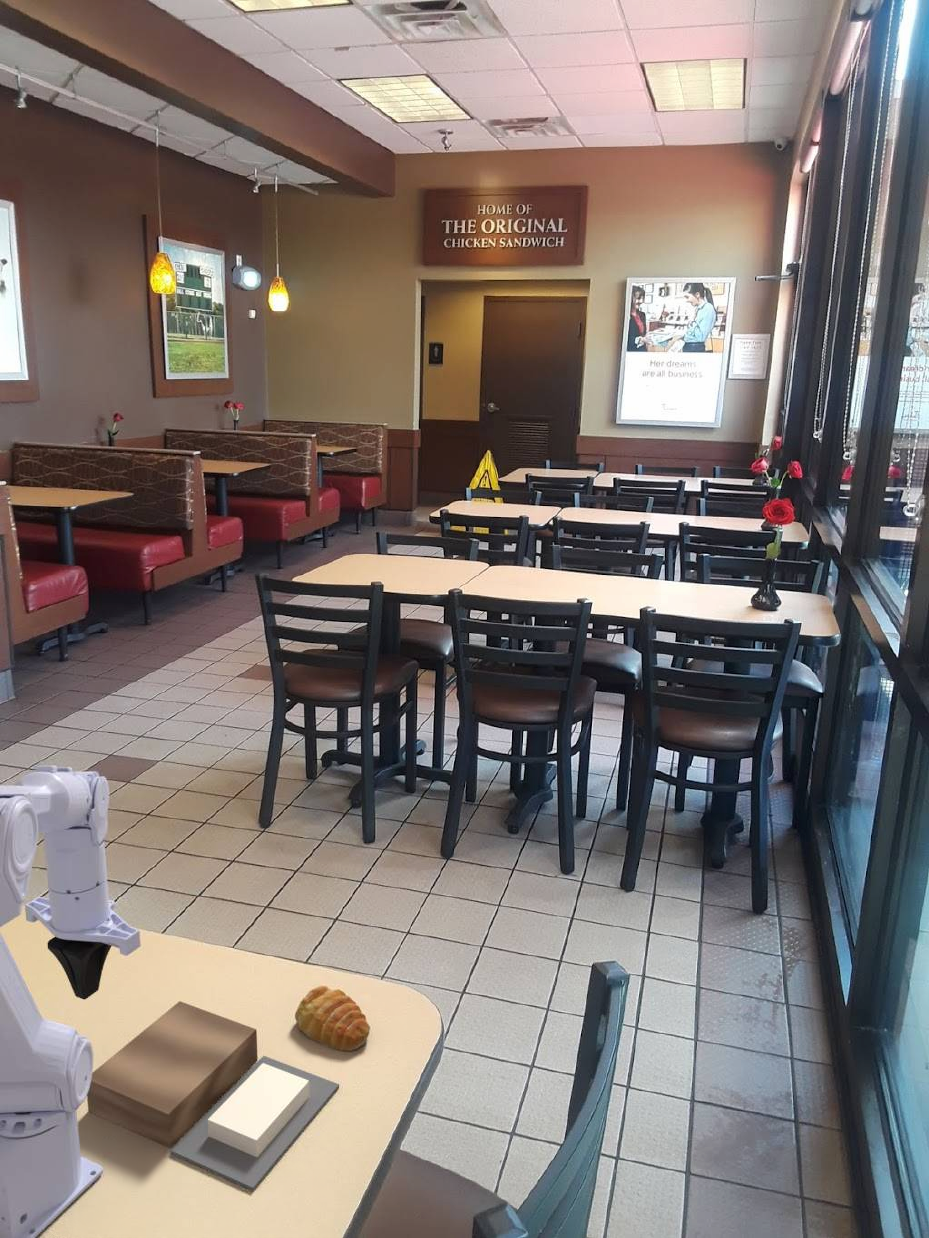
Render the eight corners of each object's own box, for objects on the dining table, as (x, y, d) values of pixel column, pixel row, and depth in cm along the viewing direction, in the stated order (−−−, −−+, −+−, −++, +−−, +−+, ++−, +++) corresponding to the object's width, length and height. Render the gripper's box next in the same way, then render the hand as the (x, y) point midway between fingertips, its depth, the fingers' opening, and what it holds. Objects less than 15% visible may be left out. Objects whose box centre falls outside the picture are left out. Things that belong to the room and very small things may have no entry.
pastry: (384, 1035, 109) (384, 1007, 108) (341, 1065, 104) (340, 1036, 103) (331, 1001, 115) (330, 974, 114) (288, 1028, 110) (287, 1000, 109)
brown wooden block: (170, 1148, 92) (168, 1114, 91) (88, 1111, 96) (85, 1078, 95) (257, 1059, 104) (256, 1029, 103) (181, 1030, 109) (179, 1000, 108)
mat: (253, 1191, 87) (253, 1187, 87) (170, 1153, 91) (170, 1150, 91) (339, 1087, 100) (339, 1084, 100) (263, 1058, 104) (263, 1055, 104)
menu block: (207, 1119, 93) (208, 1136, 93) (256, 1140, 90) (257, 1157, 91) (262, 1062, 100) (263, 1078, 101) (309, 1080, 98) (309, 1096, 98)
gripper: (158, 878, 98) (165, 991, 101) (58, 848, 104) (67, 955, 107) (107, 910, 92) (116, 1029, 95) (4, 876, 97) (15, 989, 101)
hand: (87, 992), depth 100 cm, fingers closed
